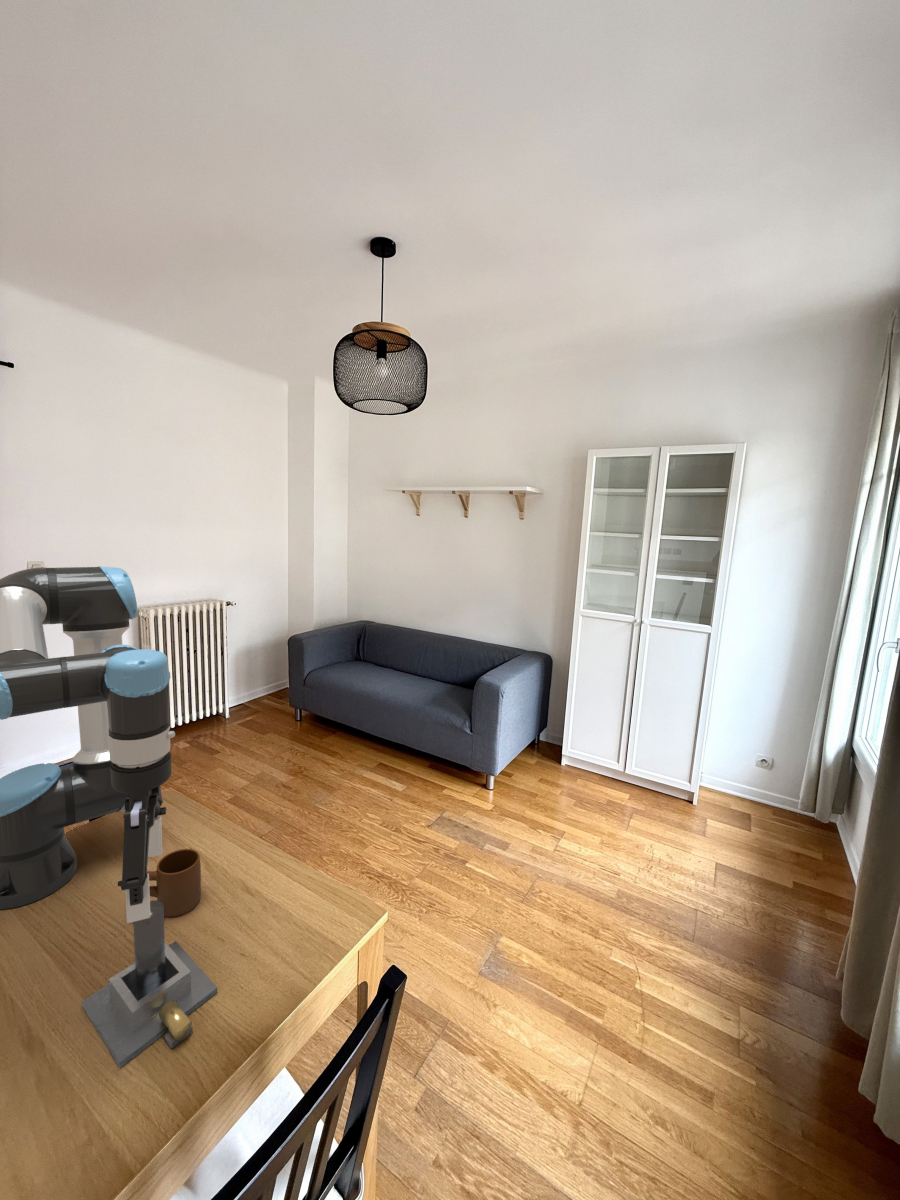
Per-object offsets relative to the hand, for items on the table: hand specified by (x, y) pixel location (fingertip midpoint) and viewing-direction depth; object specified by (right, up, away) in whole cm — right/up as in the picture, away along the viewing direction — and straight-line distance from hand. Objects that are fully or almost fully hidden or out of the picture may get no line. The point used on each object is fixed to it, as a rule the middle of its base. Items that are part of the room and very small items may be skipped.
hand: (146, 884), depth 73 cm
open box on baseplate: (0, -20, +2) cm, 21 cm away
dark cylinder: (-1, -19, +3) cm, 19 cm away
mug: (-9, -17, +21) cm, 28 cm away
